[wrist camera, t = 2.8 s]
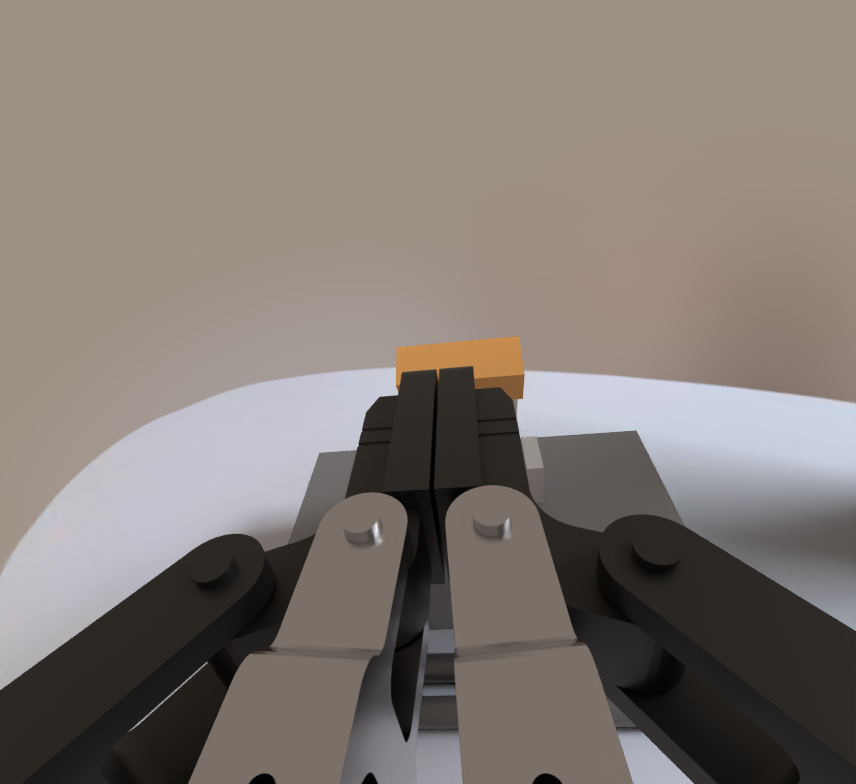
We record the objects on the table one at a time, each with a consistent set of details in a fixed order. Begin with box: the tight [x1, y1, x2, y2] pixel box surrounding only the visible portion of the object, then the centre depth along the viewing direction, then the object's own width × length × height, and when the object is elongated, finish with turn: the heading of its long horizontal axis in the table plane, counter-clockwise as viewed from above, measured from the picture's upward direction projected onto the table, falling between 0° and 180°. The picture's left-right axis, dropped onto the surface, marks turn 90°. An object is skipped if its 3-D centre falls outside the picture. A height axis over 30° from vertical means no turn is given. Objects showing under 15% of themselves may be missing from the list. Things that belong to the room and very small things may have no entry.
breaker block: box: [288, 431, 684, 729], centre depth 32 cm, size 17×24×11 cm
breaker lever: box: [396, 336, 524, 419], centre depth 27 cm, size 2×6×14 cm, turn 89°
